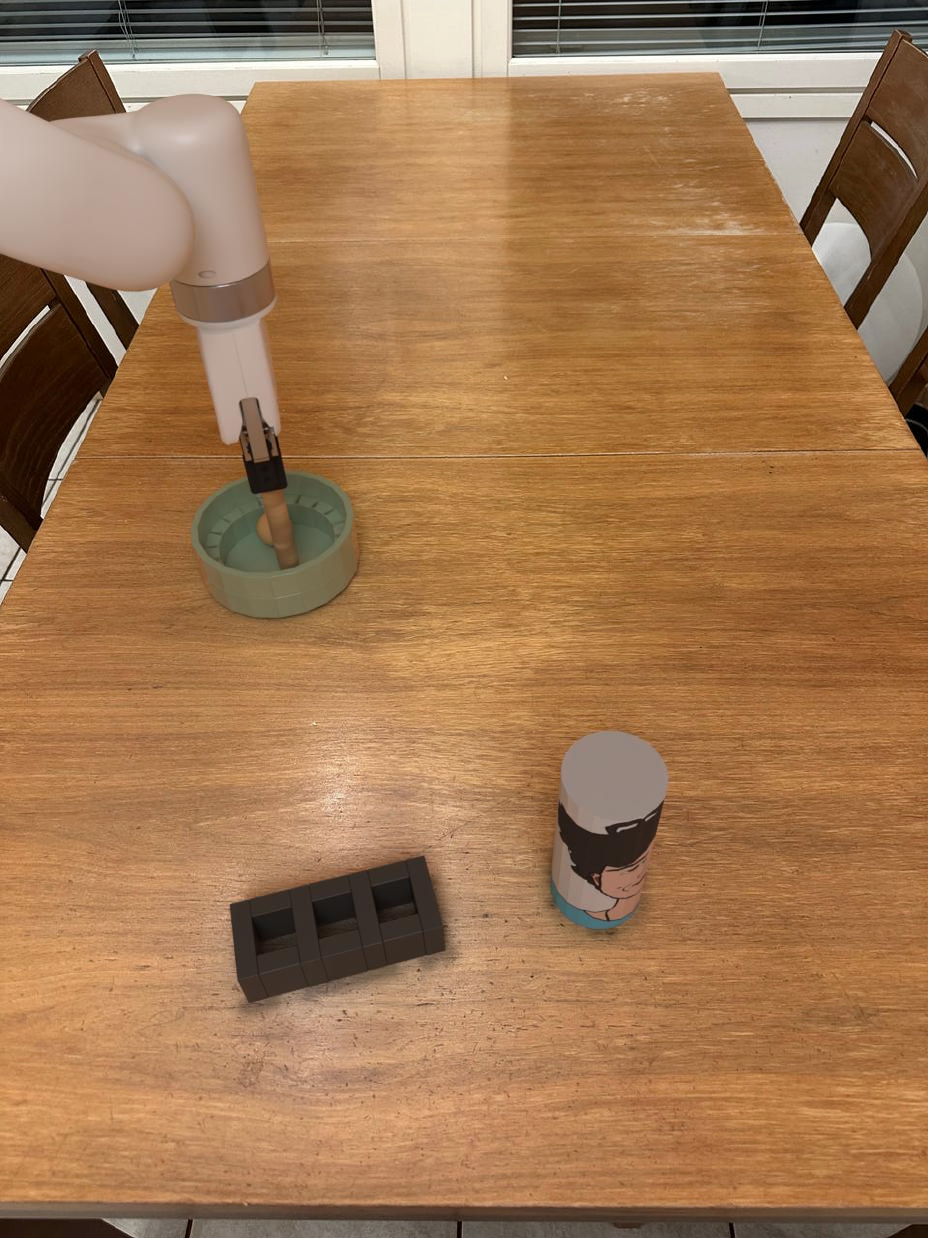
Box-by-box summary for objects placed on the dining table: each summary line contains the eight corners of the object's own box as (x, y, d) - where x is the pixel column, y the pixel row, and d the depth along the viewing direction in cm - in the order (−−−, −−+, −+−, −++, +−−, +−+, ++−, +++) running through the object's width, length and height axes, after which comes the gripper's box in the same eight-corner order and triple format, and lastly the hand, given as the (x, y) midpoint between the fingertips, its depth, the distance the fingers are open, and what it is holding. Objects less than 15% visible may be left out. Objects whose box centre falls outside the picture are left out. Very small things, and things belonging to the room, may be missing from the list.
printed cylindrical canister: (600, 948, 67) (622, 841, 56) (531, 886, 71) (538, 774, 60) (659, 886, 70) (690, 774, 59) (590, 829, 74) (607, 713, 63)
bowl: (211, 636, 88) (196, 591, 84) (199, 530, 98) (185, 485, 94) (373, 603, 91) (366, 558, 86) (345, 503, 101) (338, 458, 96)
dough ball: (262, 556, 95) (255, 529, 92) (258, 533, 97) (251, 506, 94) (297, 549, 95) (292, 522, 93) (292, 526, 98) (287, 499, 95)
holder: (248, 1003, 65) (237, 980, 62) (240, 929, 69) (229, 903, 66) (445, 951, 67) (443, 926, 64) (427, 881, 71) (424, 854, 68)
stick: (280, 573, 90) (245, 436, 79) (277, 559, 92) (243, 422, 80) (300, 568, 91) (269, 432, 79) (297, 554, 92) (266, 418, 80)
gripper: (166, 244, 75) (217, 435, 88) (178, 349, 64) (234, 547, 78) (261, 230, 76) (297, 421, 89) (288, 331, 65) (324, 529, 79)
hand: (267, 478), depth 83 cm, fingers closed on stick, 2 cm apart
